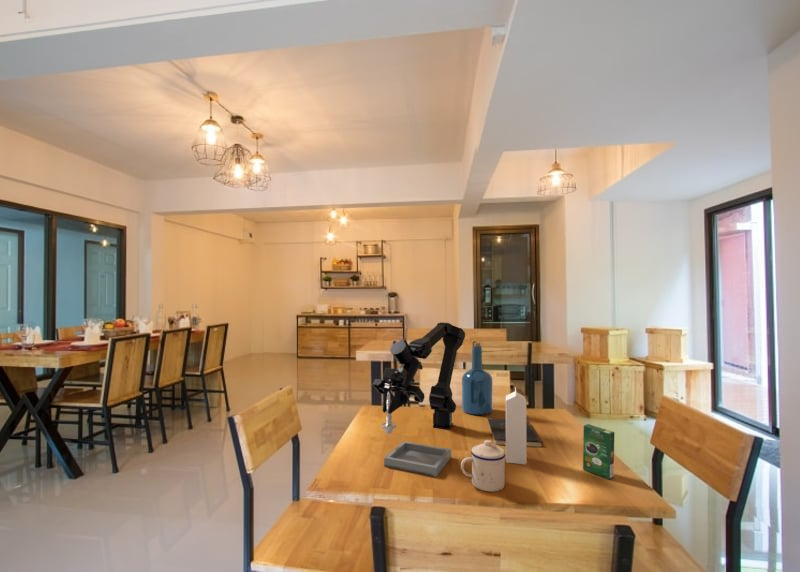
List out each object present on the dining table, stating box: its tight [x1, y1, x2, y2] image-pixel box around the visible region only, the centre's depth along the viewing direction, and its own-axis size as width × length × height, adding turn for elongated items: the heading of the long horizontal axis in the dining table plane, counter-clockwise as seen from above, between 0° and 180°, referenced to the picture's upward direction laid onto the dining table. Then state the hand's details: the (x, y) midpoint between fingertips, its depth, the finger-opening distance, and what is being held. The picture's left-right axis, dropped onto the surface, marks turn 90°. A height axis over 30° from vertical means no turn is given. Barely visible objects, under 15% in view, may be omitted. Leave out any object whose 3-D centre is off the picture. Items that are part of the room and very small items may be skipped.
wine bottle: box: [461, 342, 494, 416], centre depth 171 cm, size 14×13×30 cm
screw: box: [380, 392, 397, 434], centre depth 126 cm, size 13×5×5 cm
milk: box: [505, 386, 527, 466], centre depth 122 cm, size 6×6×22 cm
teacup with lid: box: [460, 439, 506, 493], centre depth 106 cm, size 12×9×12 cm
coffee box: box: [582, 423, 615, 481], centre depth 112 cm, size 8×3×13 cm, turn 35°
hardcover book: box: [487, 417, 544, 448], centre depth 144 cm, size 16×23×2 cm
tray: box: [383, 440, 452, 478], centre depth 120 cm, size 16×14×2 cm
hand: (386, 412), depth 125 cm, fingers closed on screw, 2 cm apart
